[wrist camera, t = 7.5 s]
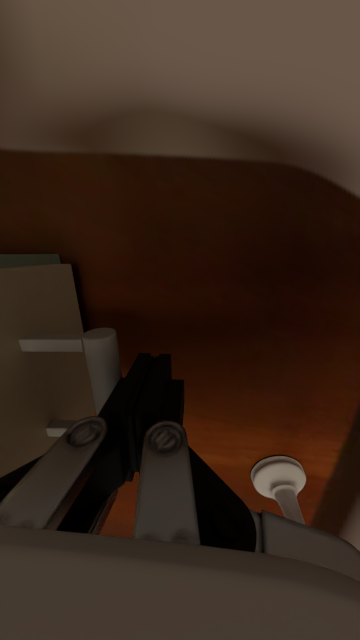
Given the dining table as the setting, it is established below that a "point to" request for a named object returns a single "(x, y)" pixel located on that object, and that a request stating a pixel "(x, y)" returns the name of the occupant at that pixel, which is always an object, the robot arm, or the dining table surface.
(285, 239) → the dining table surface
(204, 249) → the dining table surface
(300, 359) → the dining table surface
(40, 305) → the drawer
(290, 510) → the chess piece
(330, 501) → the dining table surface
